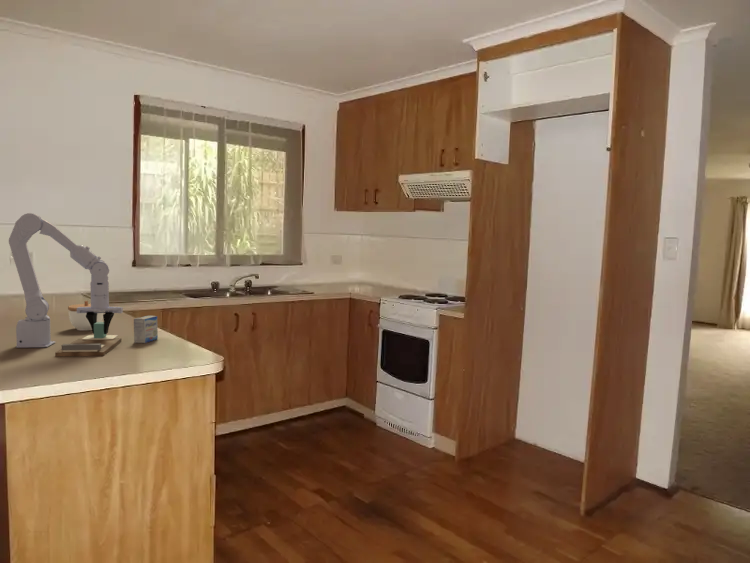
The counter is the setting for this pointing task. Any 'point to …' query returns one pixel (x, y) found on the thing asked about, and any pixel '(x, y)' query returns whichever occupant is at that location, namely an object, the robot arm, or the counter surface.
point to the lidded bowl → (81, 317)
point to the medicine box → (145, 329)
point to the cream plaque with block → (99, 333)
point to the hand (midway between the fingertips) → (100, 333)
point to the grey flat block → (82, 347)
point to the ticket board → (108, 343)
